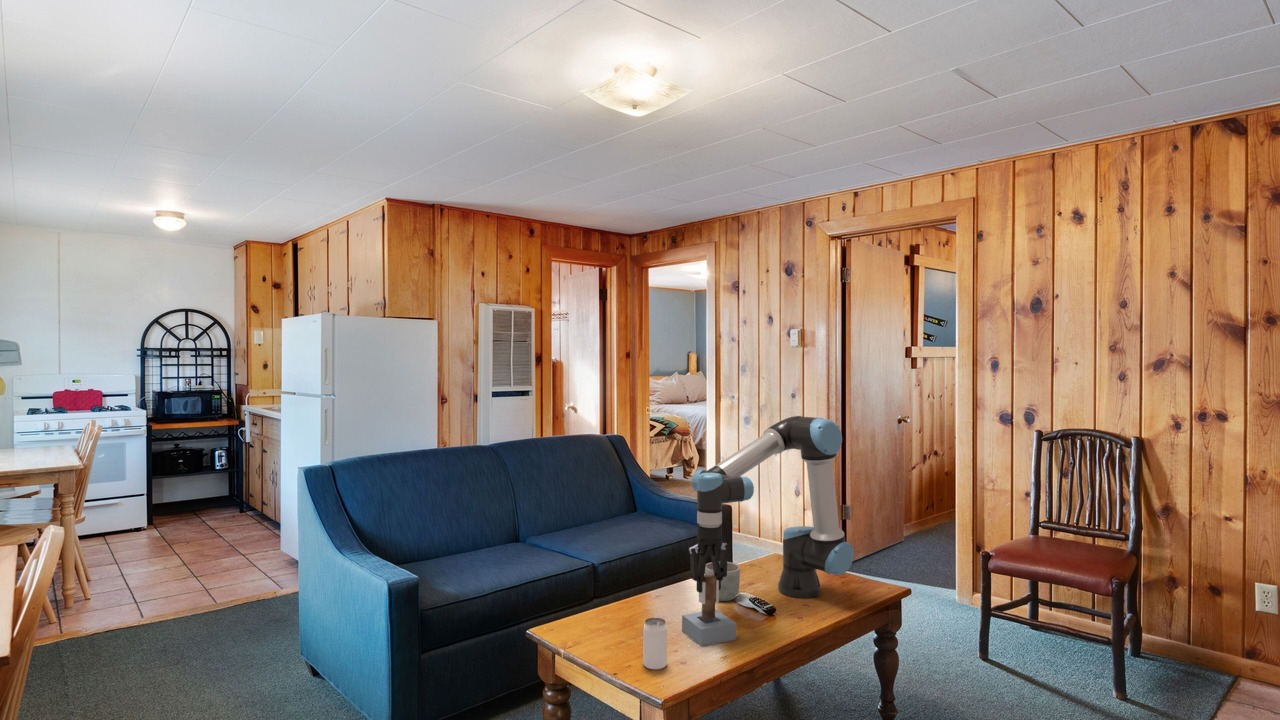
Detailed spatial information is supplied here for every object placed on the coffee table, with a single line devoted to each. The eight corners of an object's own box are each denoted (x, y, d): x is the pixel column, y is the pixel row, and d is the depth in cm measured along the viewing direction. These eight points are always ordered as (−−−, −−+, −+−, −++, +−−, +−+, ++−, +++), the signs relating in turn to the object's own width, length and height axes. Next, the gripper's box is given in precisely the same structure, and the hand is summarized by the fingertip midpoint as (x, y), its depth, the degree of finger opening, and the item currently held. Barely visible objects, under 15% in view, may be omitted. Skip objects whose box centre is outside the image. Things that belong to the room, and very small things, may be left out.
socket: (715, 625, 216) (716, 609, 216) (736, 639, 205) (736, 623, 205) (682, 631, 211) (682, 615, 211) (700, 646, 200) (700, 629, 200)
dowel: (710, 612, 211) (711, 573, 211) (717, 617, 207) (717, 577, 207) (699, 614, 209) (699, 575, 209) (705, 619, 206) (706, 579, 206)
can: (652, 672, 183) (652, 627, 183) (638, 663, 189) (638, 620, 189) (671, 666, 187) (671, 622, 187) (657, 657, 192) (657, 615, 192)
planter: (739, 604, 234) (739, 572, 234) (703, 602, 237) (703, 570, 237) (740, 592, 247) (740, 562, 247) (706, 590, 249) (706, 560, 249)
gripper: (727, 519, 215) (726, 594, 215) (678, 524, 208) (678, 601, 208) (739, 525, 208) (739, 602, 208) (690, 530, 201) (689, 609, 201)
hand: (708, 601), depth 208 cm, fingers closed on dowel, 4 cm apart
